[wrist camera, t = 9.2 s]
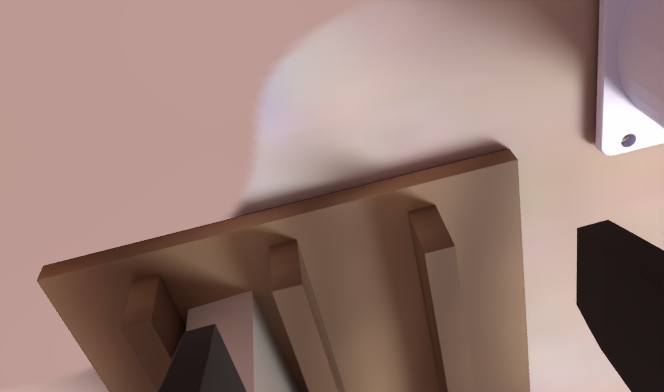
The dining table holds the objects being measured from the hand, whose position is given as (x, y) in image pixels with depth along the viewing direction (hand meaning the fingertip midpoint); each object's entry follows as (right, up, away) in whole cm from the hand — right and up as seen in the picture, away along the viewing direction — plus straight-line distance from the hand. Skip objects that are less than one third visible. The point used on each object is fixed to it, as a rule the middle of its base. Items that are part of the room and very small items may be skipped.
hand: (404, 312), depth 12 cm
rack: (-2, -5, +15) cm, 16 cm away
